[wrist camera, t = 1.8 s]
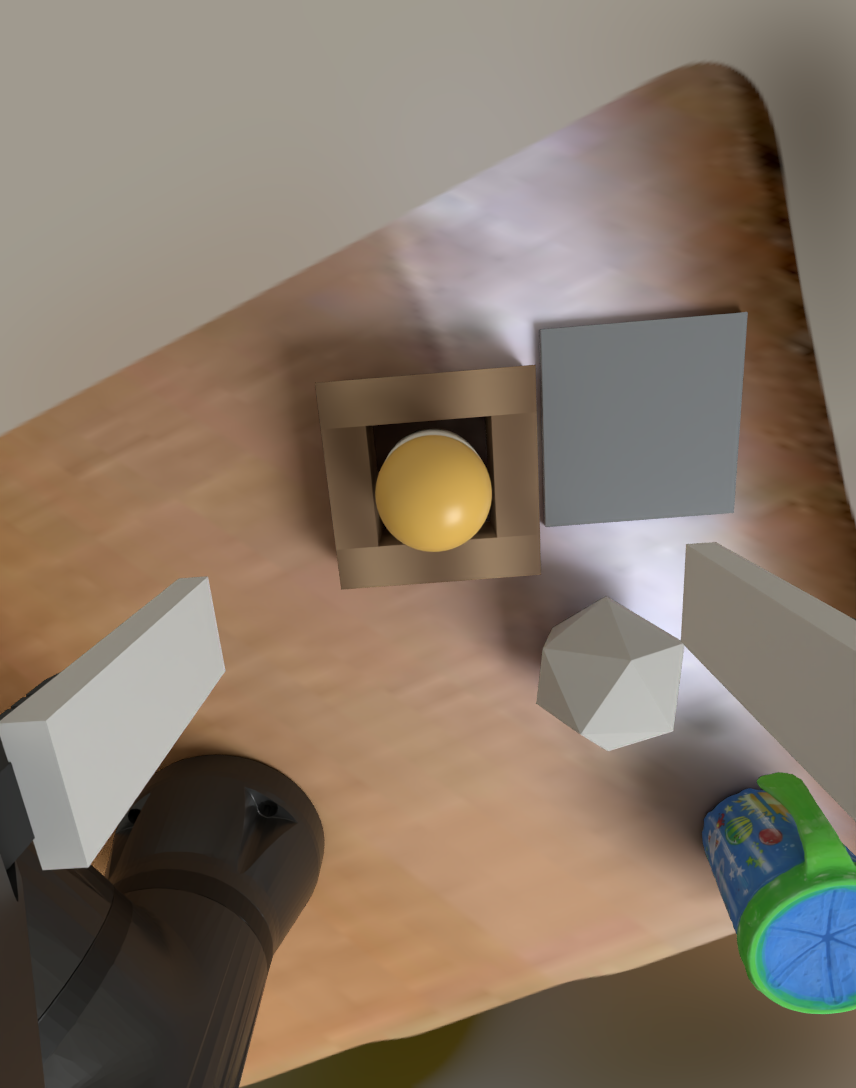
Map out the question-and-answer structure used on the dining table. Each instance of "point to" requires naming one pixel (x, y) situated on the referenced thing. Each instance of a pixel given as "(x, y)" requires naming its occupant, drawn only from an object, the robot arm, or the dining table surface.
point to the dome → (433, 490)
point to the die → (611, 675)
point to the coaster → (641, 418)
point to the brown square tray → (429, 397)
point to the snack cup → (787, 894)
